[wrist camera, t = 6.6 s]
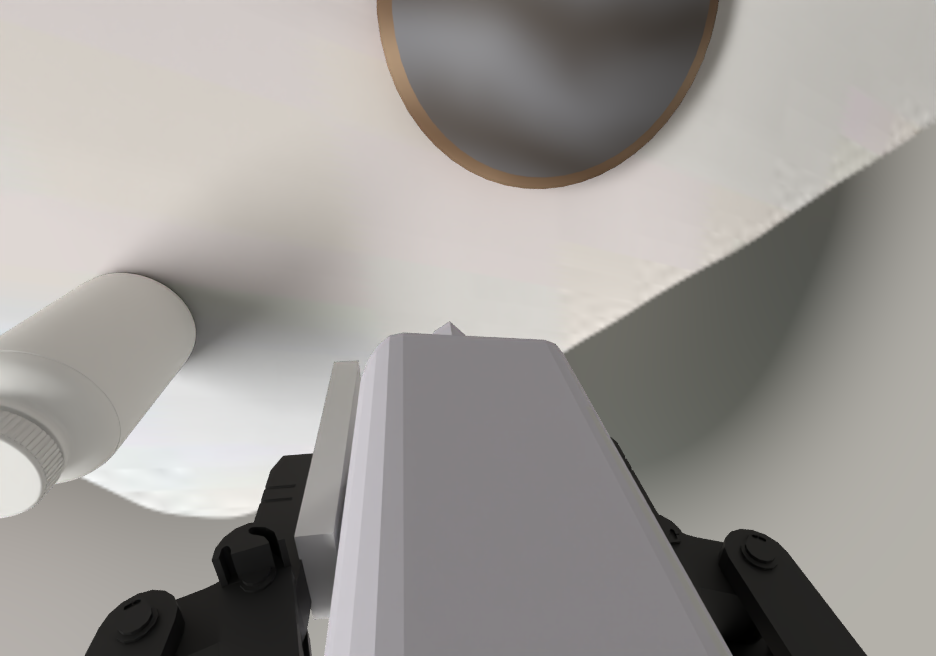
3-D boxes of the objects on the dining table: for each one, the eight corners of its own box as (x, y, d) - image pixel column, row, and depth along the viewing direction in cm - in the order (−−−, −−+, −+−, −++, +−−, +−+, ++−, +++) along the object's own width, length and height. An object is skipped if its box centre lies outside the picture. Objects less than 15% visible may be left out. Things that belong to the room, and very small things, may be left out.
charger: (521, 248, 16) (1046, 1051, 3) (483, 461, 20) (631, 1182, 7) (374, 236, 15) (214, 1243, 2) (366, 459, 20) (294, 1265, 6)
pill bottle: (191, 272, 33) (51, 406, 20) (205, 373, 37) (93, 542, 23) (60, 263, 32) (-184, 399, 19) (87, 368, 35) (-101, 544, 22)
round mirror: (358, -220, 23) (353, -251, 21) (736, -207, 25) (768, -233, 23) (393, 188, 32) (392, 197, 30) (670, 176, 34) (689, 184, 32)
